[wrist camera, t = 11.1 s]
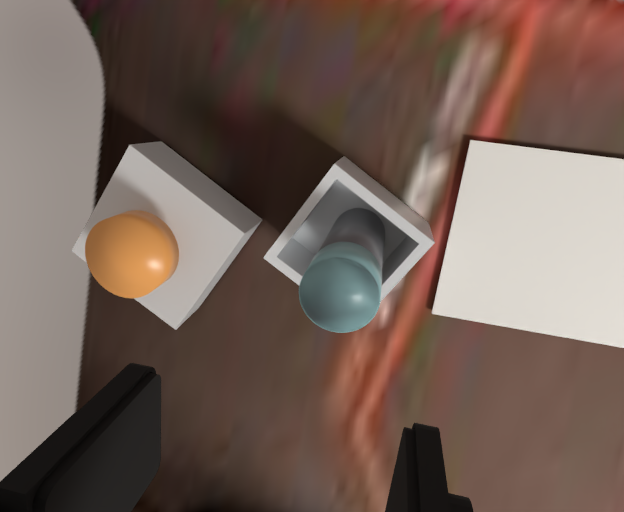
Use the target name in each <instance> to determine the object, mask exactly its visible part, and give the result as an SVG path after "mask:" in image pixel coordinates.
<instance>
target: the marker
mask: <svg viewBox="0 0 624 512" xmlns="http://www.w3.org/2000/svg"><path fill="white" fill-rule="evenodd" d="M384 243H385V228H384V225H383V223H382V221H381V219H380V218H379V217H378V216H377V215H376V214H375V213H374V212H372V211H370V210H367V209H364V208H353V209H350V210H347V211H345V212H344V213H342V214H341V215H340V216H339V217H338V218H337V220H336V221H335V223H334V225H333V227H332V228H331V230H330V232H329V234H328V235H327V237H326V239H325V241H324V242H323V244H322V246H321V247H320V249H319V251H318V253H317V254H316V255H315V256H314V258H313V259H312V261H311V263H310V265H309V266H308V268H307V270H306V272H305V273H304V275H303V277H302V279H301V282H300V286H299V299H300V303H301V306H302V308H303V310H304V312H305V313H306V315H307V316H308V317H309V318H310V319H311V320H312V321H313V322H314V323H315V324H316V325H318V326H320V327H321V328H323V329H326V330H329V331H332V332H340V333H344V332H352V331H355V330H358V329H360V328H362V327H364V326H365V325H367V324H368V323H369V322H370V321H371V320H372V319H373V317H374V316H375V315H376V313H377V311H378V308H379V305H380V298H381V287H382V265H383V254H384Z"/></svg>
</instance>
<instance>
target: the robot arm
mask: <svg viewBox="0 0 624 512" xmlns="http://www.w3.org/2000/svg"><path fill="white" fill-rule="evenodd" d="M160 459H161V377H160V375H158V374H156V371H155V369H154V368H153V367H149V366H144V365H140V364H135V363H130V364H129V365H127V366H126V367H125V368H124V369H123V370H122V371H121V372H120V373H119V374H118V375H117V376H116V377H114V378H113V379H112V380H111V381H110V382H109V383H108V384H107V385H106V386H105V387H104V388H103V389H102V390H100V391H99V392H98V393H97V394H96V395H95V396H94V397H93V398H92V399H91V400H90V401H89V402H88V403H86V404H85V405H84V406H83V407H82V408H81V409H80V410H79V411H77V412H76V413H74V414H73V415H72V416H71V417H70V418H69V419H68V420H67V421H65V422H64V424H62V425H61V426H60V427H59V428H58V429H57V430H56V431H55V432H53V433H52V435H50V436H49V437H48V438H47V439H46V440H45V441H44V442H43V443H42V444H41V445H40V446H38V447H37V448H36V449H35V450H34V451H33V452H32V453H31V454H30V455H29V456H28V457H27V458H25V460H23V461H22V462H21V463H20V464H19V465H18V466H17V467H16V468H15V469H14V470H12V471H11V472H10V473H9V474H8V475H7V476H6V477H5V478H4V479H3V480H2V481H1V482H0V512H131V511H132V509H133V508H134V506H135V505H136V503H137V502H138V501H139V499H140V498H141V496H142V495H143V493H144V492H145V490H146V489H147V487H148V486H149V484H150V483H151V481H152V480H153V478H154V477H155V475H156V473H157V471H158V468H159V465H160ZM385 512H473V508H472V504H471V501H470V499H469V498H467V497H463V496H458V495H454V494H450V493H448V488H447V481H446V474H445V467H444V460H443V453H442V445H441V438H440V432H439V428H437V427H432V426H427V425H423V424H418V423H414V424H413V427H412V429H410V428H406V427H404V429H403V433H402V437H401V442H400V447H399V451H398V456H397V460H396V465H395V469H394V474H393V478H392V483H391V487H390V492H389V496H388V501H387V505H386V510H385Z"/></svg>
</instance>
